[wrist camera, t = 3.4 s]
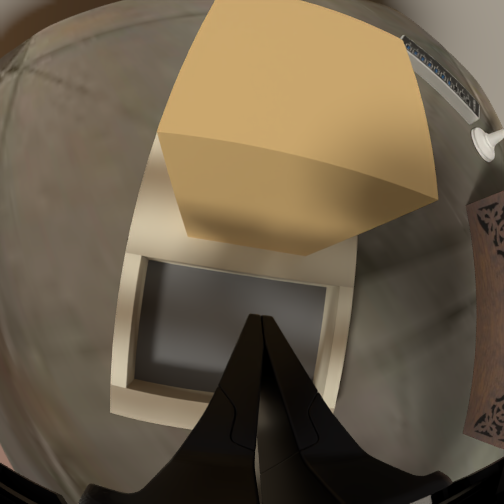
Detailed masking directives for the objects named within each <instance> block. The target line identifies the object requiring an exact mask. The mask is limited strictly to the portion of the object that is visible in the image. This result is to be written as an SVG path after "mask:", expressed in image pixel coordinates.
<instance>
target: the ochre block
mask: <svg viewBox="0 0 504 504" xmlns="http://www.w3.org/2000/svg"><path fill="white" fill-rule="evenodd" d="M157 134H158V138H159V142H160V145H161V149H162V153H163V156H164V160H165V163H166V167H167V170H168V174H169V177H170V181H171V184H172V188H173V191H174V194H175V198H176V201H177V204H178V207H179V211H180V214H181V217H182V220H183V223H184V227H185V230H186V233H187V236H188V237H192V238H198V239H204V240H211V241H217V242H223V243H229V244H235V245H241V246H247V247H253V248H259V249H265V250H271V251H277V252H283V253H289V254H295V255H301V256H307V255H310V254H312V253H315V252H317V251H320V250H322V249H324V248H327V247H329V246H332V245H334V244H337V243H339V242H342V241H344V240H346V239H349V238H351V237H354V236H356V235H358V234H361V233H363V232H366V231H368V230H370V229H373V228H375V227H377V226H380V225H382V224H384V223H387V222H389V221H391V220H394V219H396V218H398V217H401V216H403V215H405V214H408V213H410V212H412V211H415V210H417V209H419V208H421V207H424V206H426V205H428V204H431V203H433V202H435V201H437V200H438V190H437V181H436V172H435V165H434V158H433V151H432V145H431V140H430V134H429V129H428V124H427V120H426V115H425V111H424V107H423V103H422V99H421V95H420V91H419V88H418V84H417V81H416V77H415V74H414V71H413V68H412V65H411V62H410V59H409V56H408V53H407V50H406V47H405V45H404V42H403V40H401V39H399V38H397V37H395V36H393V35H391V34H389V33H387V32H385V31H383V30H381V29H379V28H376V27H374V26H372V25H370V24H367V23H365V22H363V21H360V20H358V19H355V18H353V17H350V16H347V15H345V14H342V13H339V12H336V11H333V10H331V9H327V8H324V7H321V6H318V5H315V4H311V3H308V2H304V1H301V0H215V2H214V3H213V5H212V7H211V9H210V11H209V12H208V14H207V16H206V18H205V20H204V22H203V24H202V26H201V28H200V30H199V32H198V34H197V36H196V38H195V40H194V42H193V44H192V46H191V48H190V50H189V52H188V55H187V57H186V59H185V61H184V63H183V66H182V68H181V70H180V73H179V75H178V77H177V80H176V82H175V85H174V87H173V90H172V92H171V95H170V97H169V100H168V102H167V105H166V108H165V110H164V113H163V116H162V119H161V121H160V124H159V127H158V130H157Z"/></svg>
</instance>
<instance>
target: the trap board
mask: <svg viewBox="0 0 504 504" xmlns="http://www.w3.org/2000/svg"><path fill="white" fill-rule="evenodd" d="M357 239H358V235H356V236H354V237H351V238H349V239H346V240H344V241H342V242H339V243H337V244H334V245H332V246H329V247H327V248H324V249H322V250H320V251H317V252H315V253H312V254H310V255H307V256H301V255H295V254H289V253H283V252H277V251H271V250H265V249H259V248H253V247H247V246H241V245H235V244H229V243H223V242H217V241H211V240H204V239H198V238H192V237H188V236H187V233H186V230H185V227H184V223H183V220H182V217H181V214H180V211H179V207H178V204H177V201H176V198H175V194H174V191H173V188H172V184H171V181H170V177H169V174H168V170H167V167H166V163H165V160H164V156H163V153H162V149H161V145H160V142H159V138H158V134H156V137H155V140H154V143H153V146H152V149H151V153H150V156H149V159H148V162H147V166H146V169H145V173H144V176H143V180H142V184H141V187H140V191H139V195H138V199H137V203H136V207H135V211H134V215H133V220H132V224H131V229H130V233H129V238H128V243H127V248H126V253H125V258H124V264H123V270H122V276H121V282H120V289H119V295H118V303H117V311H116V319H115V328H114V339H113V351H112V366H111V391H110V413H114V414H118V415H121V416H125V417H129V418H134V419H138V420H142V421H147V422H152V423H157V424H162V425H167V426H173V427H179V428H185V429H192V430H193V428H194V427H195V425H196V424H197V422H198V421H199V419H200V418H201V416H202V415H203V413H204V411H205V410H206V408H207V406H208V404H209V402H210V400H211V398H212V396H213V394H214V392H215V390H216V388H217V386H218V383H219V381H220V379H221V377H222V374H223V372H224V370H225V368H226V365H227V363H228V361H229V358H230V356H231V354H232V352H233V349H234V347H235V345H236V342H237V340H238V338H239V336H240V333H241V331H242V329H243V326H244V324H245V322H246V319H247V317H248V315H249V314H250V313H252V314H259V315H260V316H261V315H268V316H272V317H273V318H274V319H275V321H276V323H277V324H278V326H279V328H280V329H281V331H282V333H283V334H284V336H285V338H286V339H287V341H288V343H289V344H290V346H291V348H292V349H293V351H294V352H295V354H296V356H297V357H298V359H299V361H300V362H301V364H302V366H303V367H304V369H305V370H306V372H307V374H308V375H309V377H310V379H311V380H312V382H313V383H314V385H315V387H316V388H317V390H318V392H319V393H320V395H321V396H322V398H323V400H324V401H325V403H326V404H327V406H328V407H329V409H330V410H331V412H332V413H333V412H334V408H335V403H336V399H337V394H338V389H339V384H340V379H341V374H342V368H343V363H344V357H345V351H346V344H347V338H348V331H349V324H350V316H351V308H352V299H353V290H354V280H355V268H356V255H357ZM318 392H317V393H318Z"/></svg>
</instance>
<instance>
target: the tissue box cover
mask: <svg viewBox="0 0 504 504" xmlns="http://www.w3.org/2000/svg"><path fill="white" fill-rule="evenodd" d="M466 209H467V214H468V220H469V226H470V232H471V239H472V247H473V255H474V265H475V278H476V301H477V327H476V349H475V361H474V371H473V380H472V387H471V394H470V400H469V406H468V411H467V416H466V421H465V425H464V430H463V434H465V435H468V436H470V437H473V438H475V439H478V440H480V441H483V442H486V443H488V444H491V445H494V446H496V447H499V448H502V449H504V191H501V192H499V193H496V194H494V195H491V196H489V197H486V198H484V199H481V200H479V201H476V202H474V203H471V204H469V205H466Z"/></svg>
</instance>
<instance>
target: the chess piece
mask: <svg viewBox="0 0 504 504" xmlns="http://www.w3.org/2000/svg"><path fill="white" fill-rule="evenodd" d="M471 135H472V140H473V143H474V145H475V147H476V149H477V151H478V153H479V154H480V155H481V157H482V158H483V159H484V160H485V161H487V162H491V160H493V159H494V157H495V152H494V147H495V145H496V144H497V143H498V142H499V141H501V140H502V139H503V138H504V128H503V129H501V130H498V131H496V132H493V133H490V134H488V133H485V132H484V131H483V130H482V129H480V128H475V129H472V131H471Z"/></svg>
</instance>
